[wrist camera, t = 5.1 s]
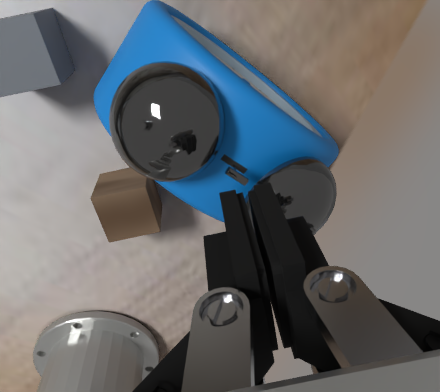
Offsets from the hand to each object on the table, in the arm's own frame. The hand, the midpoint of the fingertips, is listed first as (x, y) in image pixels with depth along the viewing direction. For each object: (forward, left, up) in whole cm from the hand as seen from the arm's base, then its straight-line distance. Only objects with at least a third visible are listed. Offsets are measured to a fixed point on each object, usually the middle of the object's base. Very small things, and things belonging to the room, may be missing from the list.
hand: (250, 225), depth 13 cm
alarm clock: (0, 0, -18) cm, 18 cm away
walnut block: (-7, +8, -18) cm, 21 cm away
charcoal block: (+5, +11, -18) cm, 22 cm away
